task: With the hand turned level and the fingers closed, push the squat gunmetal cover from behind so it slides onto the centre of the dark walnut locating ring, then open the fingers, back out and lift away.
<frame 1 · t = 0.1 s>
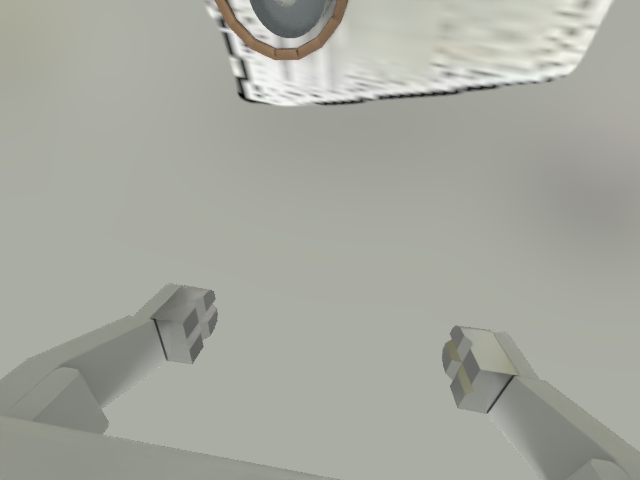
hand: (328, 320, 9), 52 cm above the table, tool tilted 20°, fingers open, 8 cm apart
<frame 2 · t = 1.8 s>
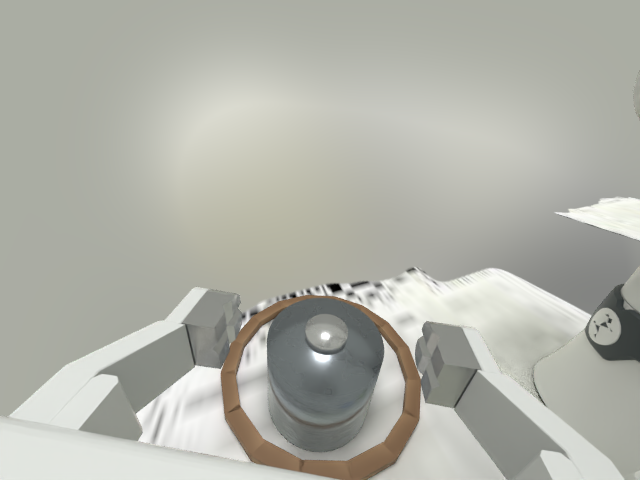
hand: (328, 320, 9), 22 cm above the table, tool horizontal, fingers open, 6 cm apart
metal cover: (318, 392, 29), resting in locating ring
locating ring: (321, 364, 32), on the table
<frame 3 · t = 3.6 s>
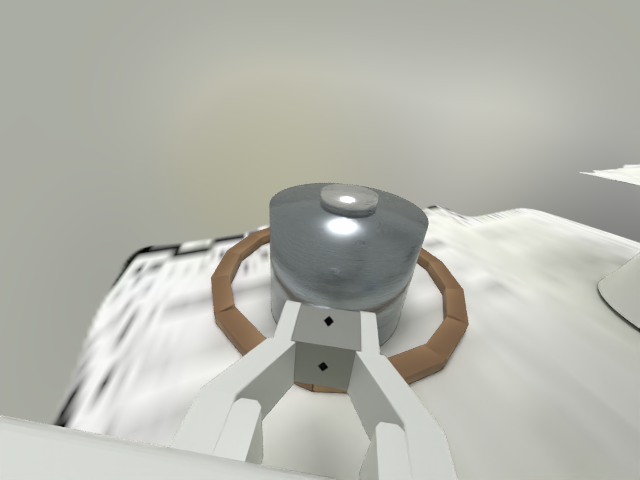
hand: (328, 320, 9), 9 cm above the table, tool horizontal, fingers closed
metal cover: (334, 301, 23), resting in locating ring
locating ring: (337, 277, 26), on the table
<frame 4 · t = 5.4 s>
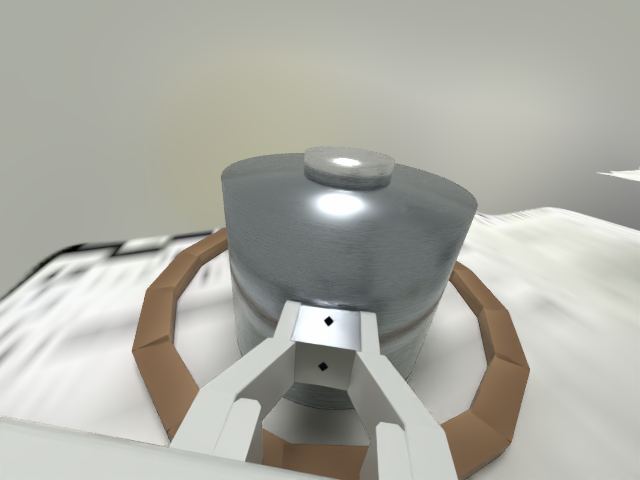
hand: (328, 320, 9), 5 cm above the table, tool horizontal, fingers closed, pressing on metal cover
metal cover: (327, 317, 16), resting in locating ring, touching gripper
locating ring: (330, 289, 19), on the table
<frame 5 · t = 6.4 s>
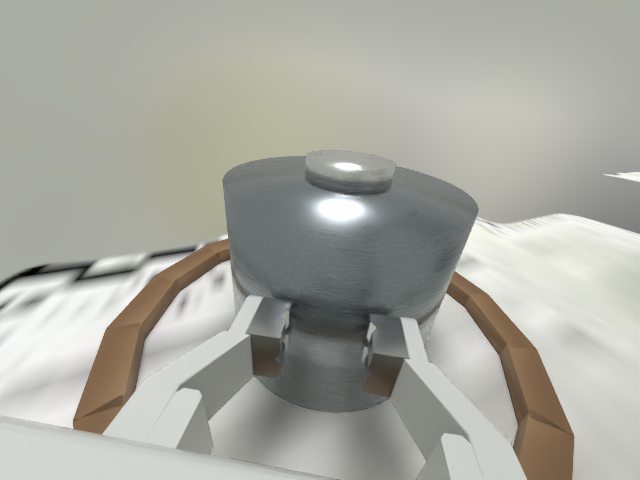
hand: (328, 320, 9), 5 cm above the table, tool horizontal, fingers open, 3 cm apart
metal cover: (328, 320, 16), resting in locating ring
locating ring: (327, 320, 16), on the table
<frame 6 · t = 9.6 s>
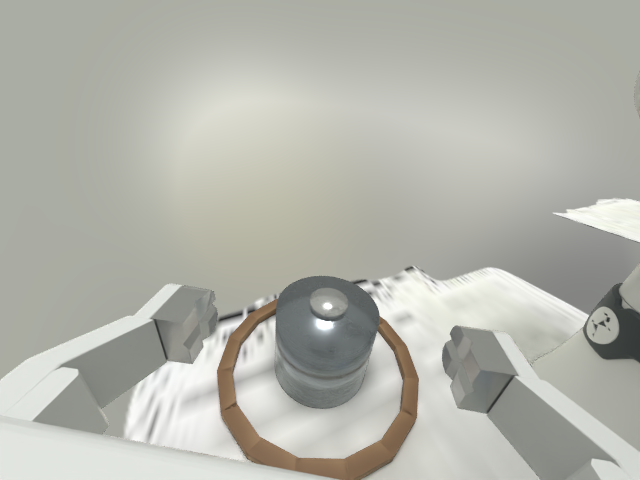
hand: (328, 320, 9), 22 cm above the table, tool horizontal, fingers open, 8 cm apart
metal cover: (319, 361, 32), resting in locating ring
locating ring: (319, 362, 32), on the table
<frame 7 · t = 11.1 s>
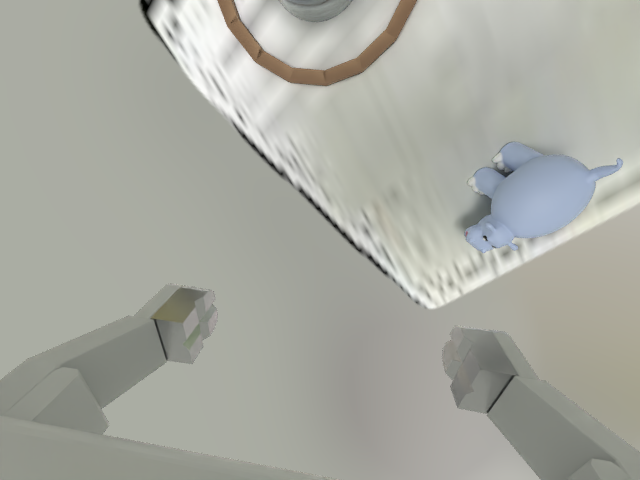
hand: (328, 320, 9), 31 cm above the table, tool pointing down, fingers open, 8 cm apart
hippopotamus toy: (502, 193, 36), on the table
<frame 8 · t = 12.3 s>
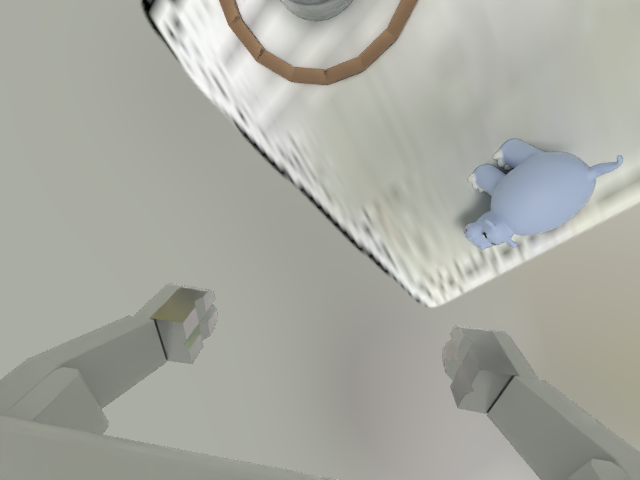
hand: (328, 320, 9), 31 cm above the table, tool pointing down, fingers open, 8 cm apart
hippopotamus toy: (502, 190, 36), on the table
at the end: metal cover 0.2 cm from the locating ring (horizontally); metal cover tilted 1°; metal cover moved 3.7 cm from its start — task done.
